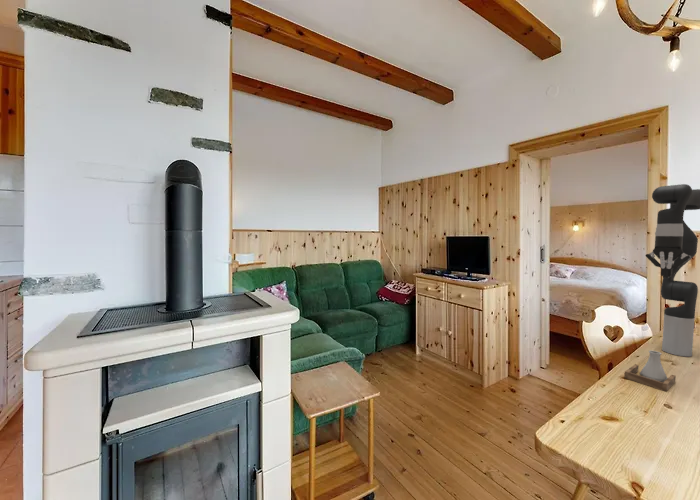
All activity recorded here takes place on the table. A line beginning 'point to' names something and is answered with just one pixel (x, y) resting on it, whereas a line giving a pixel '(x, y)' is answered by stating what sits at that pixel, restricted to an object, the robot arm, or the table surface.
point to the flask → (654, 367)
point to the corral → (648, 379)
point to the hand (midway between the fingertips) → (666, 277)
